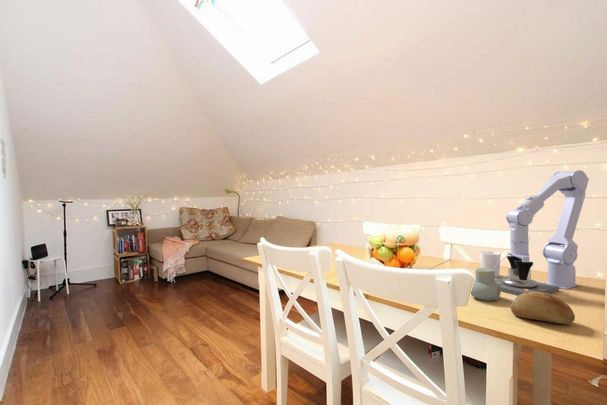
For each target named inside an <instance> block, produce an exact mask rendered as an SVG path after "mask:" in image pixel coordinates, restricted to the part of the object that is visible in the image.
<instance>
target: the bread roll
mask: <svg viewBox="0 0 607 405" xmlns="http://www.w3.org/2000/svg"><path fill="white" fill-rule="evenodd" d="M510 311H511V313H512V314H513V315H514V316H516V317H518V318H522V319H528V320H529V319H530V320H536V321H543V322H549V323H556V324H559V325H560V324H562V325H569V324H572V323H573V322H574V321H575V319H576V317H575V313H574V311H573V309H572V307H570V306H569V305H568V303H566V302H565V301H564V300H563V299H561V298H560V297H559V296H557V295H554V294H552V293H550V294H548V293H543V292H527V293H523V294H521V295H516V297H515V298H514V300H513V301H512V302H511V305H510Z"/></svg>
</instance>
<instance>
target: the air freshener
mask: <svg viewBox="0 0 607 405" xmlns="http://www.w3.org/2000/svg"><path fill="white" fill-rule="evenodd" d="M474 274H475V275H474V276H475V279H474V280H473V281H474V284H473V287H472V291H471V294H470V295H471V296H472V297H473V298H475V299H476V300H477V299H478V300H482V301H489V302H491V301H492V302H493V301H497V300H499V299H500V296H501V292H502V291H501V286H500V285H499V284H498V283H496V282H495V279H496V277H495V271H494V270H492V269H488V268H481V267H478V268H476V269H475V273H474Z"/></svg>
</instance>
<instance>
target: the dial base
mask: <svg viewBox="0 0 607 405" xmlns="http://www.w3.org/2000/svg"><path fill="white" fill-rule="evenodd" d="M506 277H508V275H507V276H504V277H498V278H495V282H496V283H498V284H499V285H500V286H501V292H502V293H507V294H511V295H514V296H518V295H521V294H523V293H527V292H543V293H548V294H552V293H555V292H559V291H560V288H559V286H555V285H550V284H545V282H541V281H536V282H537V287H535V288H518V287H512V286H508V285H505V284H503V282H502V279H503V278H506Z"/></svg>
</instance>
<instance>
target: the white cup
mask: <svg viewBox="0 0 607 405" xmlns="http://www.w3.org/2000/svg"><path fill="white" fill-rule="evenodd" d="M501 254H502V253H500V252H499V251H492V250H491V251H490V250H489V251H488V250H486V251H483V250H482V251H480V252H479V259H480V261H479V262H480V268H488V269H492V270H494V271H495V278H500V271H501V269H500V268H501Z"/></svg>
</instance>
